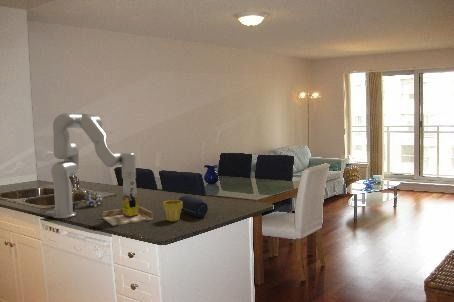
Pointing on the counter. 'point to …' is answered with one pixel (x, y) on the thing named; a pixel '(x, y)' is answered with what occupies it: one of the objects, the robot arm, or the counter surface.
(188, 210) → the portable speaker
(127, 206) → the supplement box
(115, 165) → the robot arm
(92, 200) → the passion flower
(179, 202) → the plant pot
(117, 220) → the arena
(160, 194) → the counter surface
